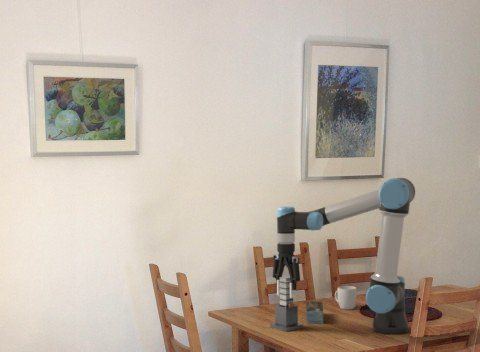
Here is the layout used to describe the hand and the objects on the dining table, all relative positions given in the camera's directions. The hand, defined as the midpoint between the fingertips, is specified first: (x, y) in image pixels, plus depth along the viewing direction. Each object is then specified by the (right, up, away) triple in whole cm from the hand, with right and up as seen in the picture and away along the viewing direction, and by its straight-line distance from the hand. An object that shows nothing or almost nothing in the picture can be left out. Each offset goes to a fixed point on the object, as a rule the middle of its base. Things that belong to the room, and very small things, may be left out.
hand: (286, 296), depth 307 cm
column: (0, -12, 0) cm, 12 cm away
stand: (0, -14, 0) cm, 14 cm away
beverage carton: (+14, -13, +17) cm, 25 cm away
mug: (+31, -12, +39) cm, 51 cm away
